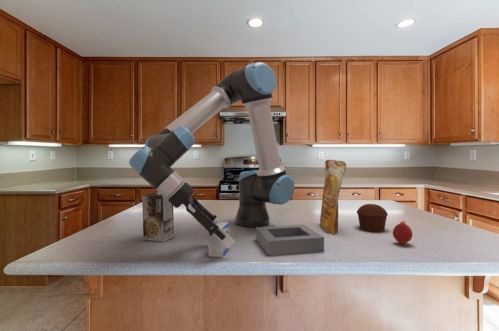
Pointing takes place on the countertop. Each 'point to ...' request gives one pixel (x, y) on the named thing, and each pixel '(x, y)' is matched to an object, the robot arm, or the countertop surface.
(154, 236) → the coffee box
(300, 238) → the frame
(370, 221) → the muffin
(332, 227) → the pancake mix bag
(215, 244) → the medicine box
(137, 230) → the countertop surface
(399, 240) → the red rounded lump
